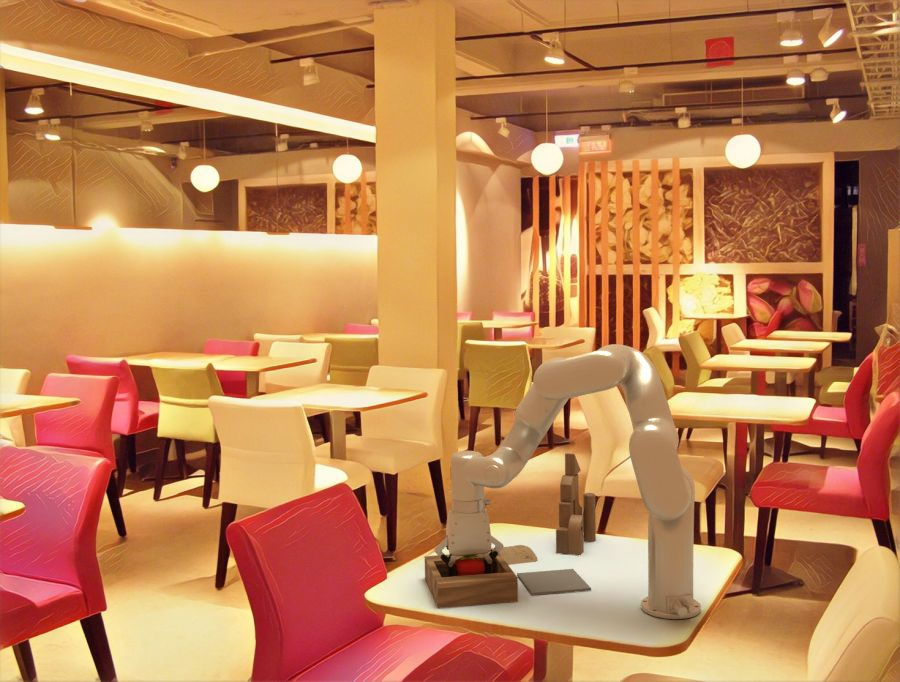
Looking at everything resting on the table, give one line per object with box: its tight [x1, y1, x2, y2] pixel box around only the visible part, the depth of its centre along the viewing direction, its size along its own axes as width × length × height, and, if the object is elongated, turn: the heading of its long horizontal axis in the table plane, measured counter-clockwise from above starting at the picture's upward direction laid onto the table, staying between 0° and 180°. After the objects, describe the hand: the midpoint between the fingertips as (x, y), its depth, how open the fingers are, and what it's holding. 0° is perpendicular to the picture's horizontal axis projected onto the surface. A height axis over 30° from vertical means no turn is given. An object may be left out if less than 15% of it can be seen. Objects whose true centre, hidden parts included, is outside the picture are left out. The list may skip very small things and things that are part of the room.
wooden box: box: [424, 551, 519, 608], centre depth 222 cm, size 20×18×6 cm
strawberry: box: [454, 554, 485, 576], centre depth 222 cm, size 6×8×10 cm
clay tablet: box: [491, 544, 538, 566], centre depth 246 cm, size 14×10×3 cm
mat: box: [516, 568, 592, 596], centre depth 226 cm, size 14×14×1 cm
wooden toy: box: [555, 452, 597, 556], centre depth 253 cm, size 16×7×25 cm, turn 156°
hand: (469, 579), depth 222 cm, fingers closed on strawberry, 7 cm apart
